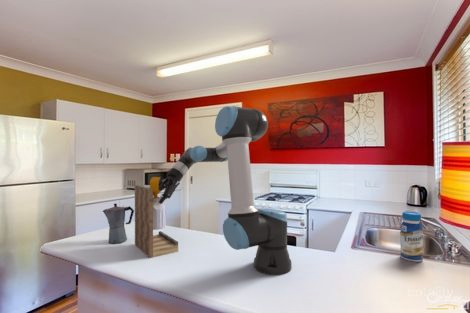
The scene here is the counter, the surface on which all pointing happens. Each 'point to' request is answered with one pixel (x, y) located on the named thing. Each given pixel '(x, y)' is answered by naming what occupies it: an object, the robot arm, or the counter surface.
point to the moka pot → (117, 223)
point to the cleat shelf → (149, 227)
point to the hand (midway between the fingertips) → (149, 207)
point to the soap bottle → (160, 213)
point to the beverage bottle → (411, 236)
